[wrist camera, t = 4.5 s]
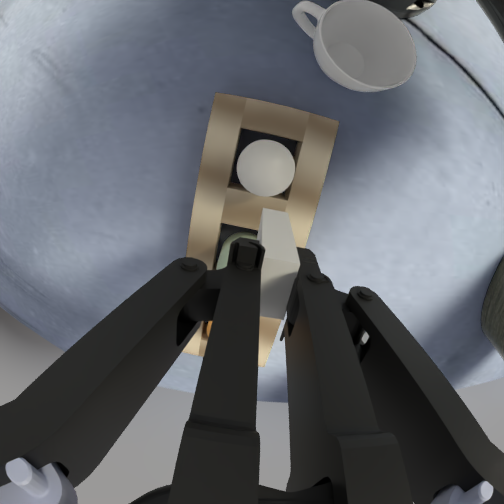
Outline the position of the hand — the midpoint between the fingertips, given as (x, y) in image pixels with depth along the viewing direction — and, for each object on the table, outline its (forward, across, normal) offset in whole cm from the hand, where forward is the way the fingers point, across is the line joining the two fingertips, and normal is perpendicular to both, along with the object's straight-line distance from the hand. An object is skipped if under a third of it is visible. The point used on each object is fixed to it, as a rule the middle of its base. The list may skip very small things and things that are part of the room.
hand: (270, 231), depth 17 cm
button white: (+7, -1, +3) cm, 8 cm away
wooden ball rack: (+9, -1, -5) cm, 11 cm away
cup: (+10, +3, +15) cm, 18 cm away
